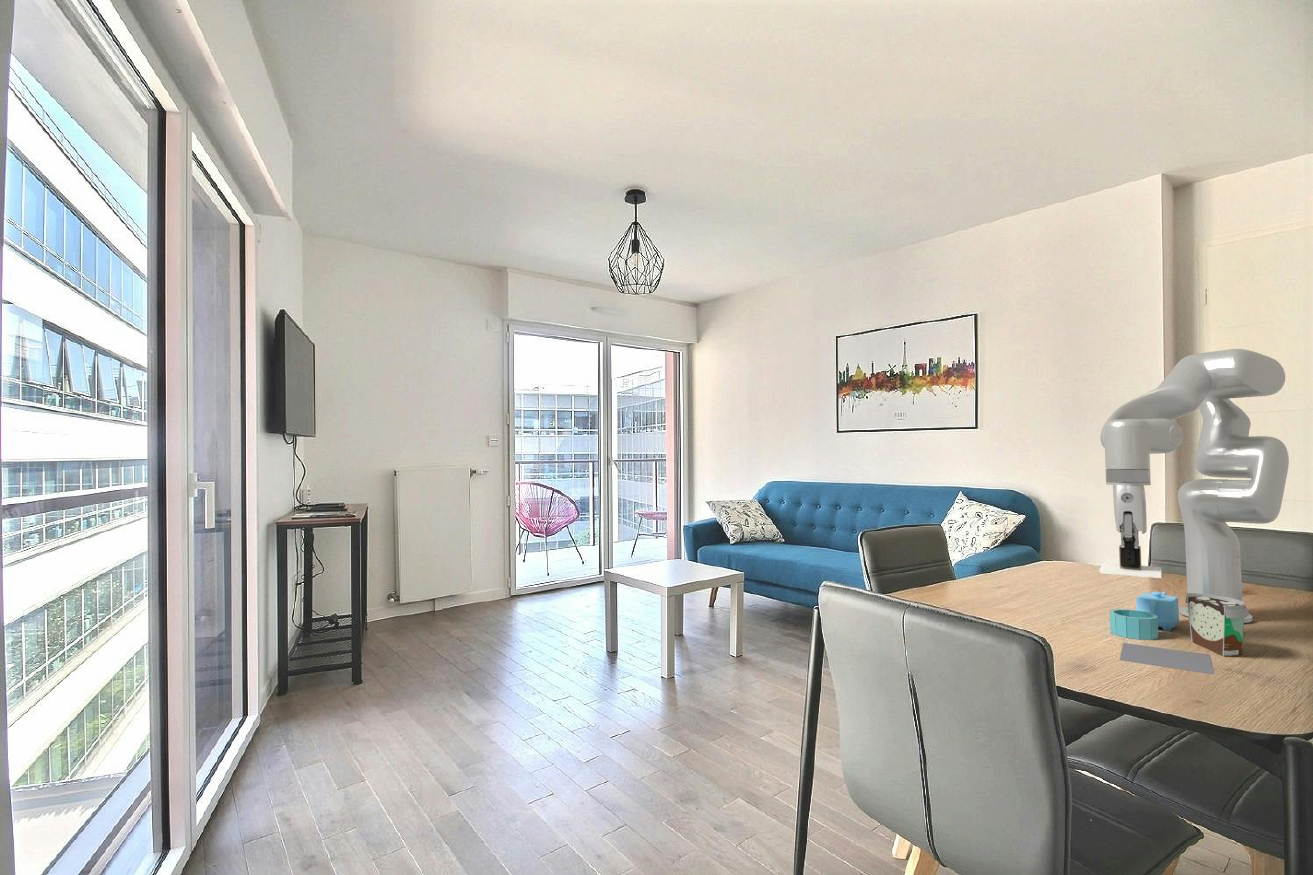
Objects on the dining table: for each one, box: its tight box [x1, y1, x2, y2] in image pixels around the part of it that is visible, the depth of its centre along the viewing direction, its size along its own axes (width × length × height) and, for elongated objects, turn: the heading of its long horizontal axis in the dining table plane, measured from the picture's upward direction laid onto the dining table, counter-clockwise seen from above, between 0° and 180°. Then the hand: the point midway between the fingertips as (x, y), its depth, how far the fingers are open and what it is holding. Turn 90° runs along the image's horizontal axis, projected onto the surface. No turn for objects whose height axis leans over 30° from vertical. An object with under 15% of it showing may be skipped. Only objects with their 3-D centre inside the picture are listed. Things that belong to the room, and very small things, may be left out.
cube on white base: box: [1099, 544, 1162, 579], centre depth 132 cm, size 10×10×5 cm
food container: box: [1185, 592, 1250, 658], centre depth 121 cm, size 12×6×10 cm, turn 168°
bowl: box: [1109, 608, 1159, 641], centre depth 132 cm, size 8×8×5 cm
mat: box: [1119, 642, 1215, 675], centre depth 117 cm, size 13×13×1 cm
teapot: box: [1135, 591, 1180, 632], centre depth 140 cm, size 12×6×8 cm, turn 131°
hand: (1130, 565), depth 132 cm, fingers closed on cube on white base, 3 cm apart
